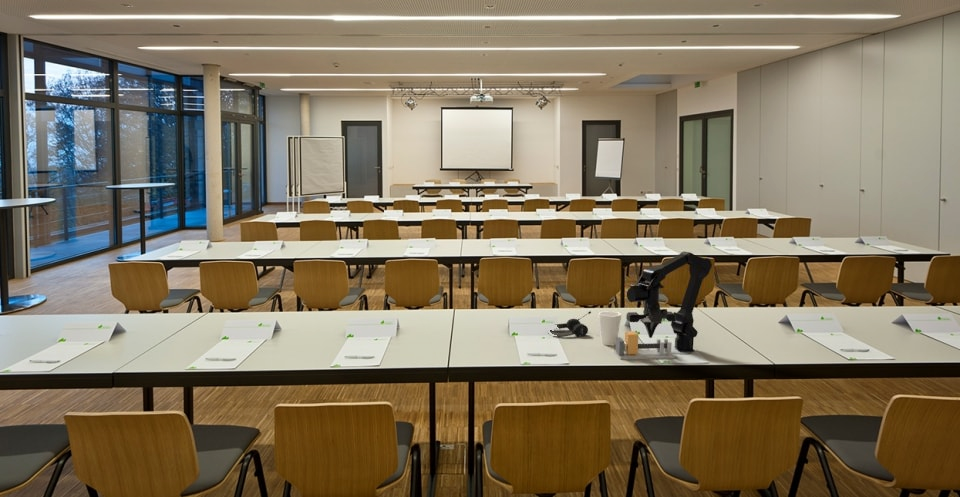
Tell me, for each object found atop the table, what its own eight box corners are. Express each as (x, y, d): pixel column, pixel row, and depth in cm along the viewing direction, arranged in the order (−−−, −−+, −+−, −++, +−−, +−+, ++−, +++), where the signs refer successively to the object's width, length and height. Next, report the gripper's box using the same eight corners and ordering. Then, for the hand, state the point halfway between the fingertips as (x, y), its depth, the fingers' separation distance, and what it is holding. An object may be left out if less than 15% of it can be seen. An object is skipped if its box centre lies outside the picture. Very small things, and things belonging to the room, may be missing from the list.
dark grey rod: (668, 348, 293) (668, 341, 292) (670, 350, 290) (670, 343, 289) (618, 349, 292) (618, 341, 291) (619, 351, 289) (620, 343, 288)
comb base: (666, 351, 297) (667, 335, 296) (674, 358, 287) (675, 341, 286) (614, 352, 295) (614, 336, 294) (620, 359, 285) (620, 342, 284)
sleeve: (634, 350, 293) (634, 331, 292) (637, 354, 288) (638, 334, 287) (624, 350, 293) (625, 331, 292) (627, 354, 288) (628, 334, 287)
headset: (595, 313, 319) (551, 321, 316) (597, 334, 320) (553, 342, 317) (585, 307, 332) (543, 314, 329) (586, 327, 334) (545, 334, 330)
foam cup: (603, 347, 303) (604, 317, 301) (594, 341, 311) (594, 312, 310) (624, 345, 305) (625, 315, 303) (614, 339, 314) (615, 310, 312)
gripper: (633, 304, 279) (632, 343, 282) (681, 303, 280) (679, 342, 283) (626, 298, 290) (625, 336, 293) (672, 297, 291) (670, 335, 294)
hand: (650, 337), depth 290 cm, fingers closed
